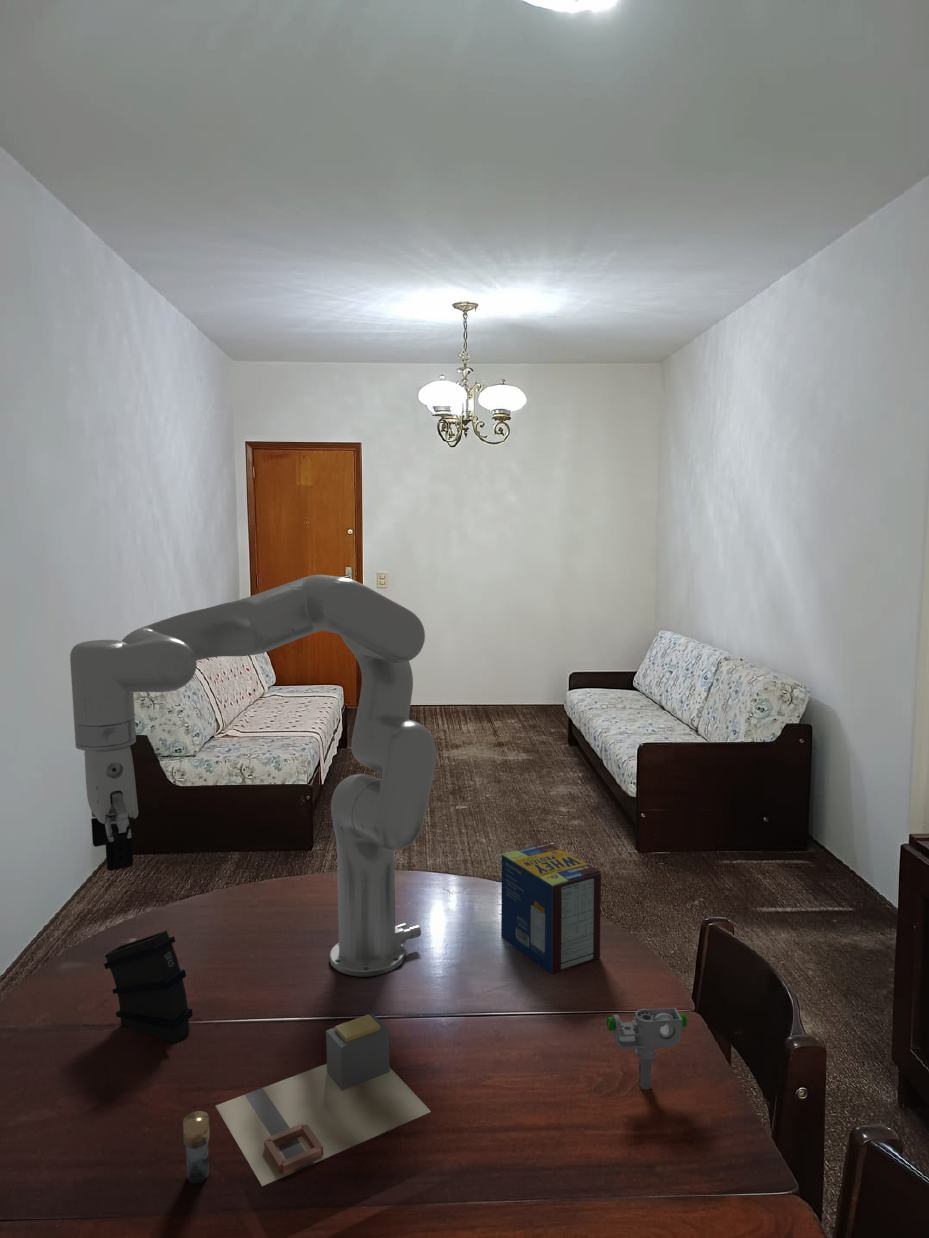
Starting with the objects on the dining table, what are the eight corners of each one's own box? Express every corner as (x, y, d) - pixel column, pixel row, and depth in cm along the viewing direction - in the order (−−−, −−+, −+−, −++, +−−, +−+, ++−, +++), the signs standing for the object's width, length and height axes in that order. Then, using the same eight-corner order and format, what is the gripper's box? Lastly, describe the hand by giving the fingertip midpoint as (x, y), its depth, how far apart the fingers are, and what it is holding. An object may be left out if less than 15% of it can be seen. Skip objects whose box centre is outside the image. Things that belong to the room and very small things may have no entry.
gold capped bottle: (206, 1162, 104) (204, 1107, 103) (214, 1177, 102) (212, 1121, 101) (182, 1172, 102) (179, 1116, 102) (189, 1188, 100) (187, 1131, 99)
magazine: (190, 1040, 125) (151, 939, 126) (129, 1055, 131) (92, 959, 132) (209, 1026, 128) (170, 928, 129) (149, 1041, 134) (112, 947, 135)
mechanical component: (604, 1080, 119) (605, 1010, 118) (679, 1076, 120) (681, 1006, 118) (609, 1095, 116) (611, 1023, 115) (686, 1090, 117) (688, 1019, 115)
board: (371, 1054, 124) (370, 1040, 124) (431, 1120, 111) (431, 1103, 111) (215, 1114, 112) (215, 1098, 112) (262, 1195, 99) (261, 1177, 99)
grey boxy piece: (373, 1054, 122) (373, 1009, 122) (389, 1071, 119) (389, 1025, 118) (327, 1072, 119) (326, 1026, 118) (341, 1090, 115) (341, 1042, 114)
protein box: (546, 922, 164) (547, 841, 162) (601, 958, 151) (602, 871, 149) (499, 936, 158) (499, 853, 156) (551, 975, 145) (552, 884, 143)
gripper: (150, 743, 114) (156, 871, 116) (121, 716, 128) (127, 830, 130) (87, 752, 110) (95, 884, 112) (64, 723, 124) (72, 841, 126)
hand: (112, 855), depth 121 cm, fingers open, 9 cm apart
